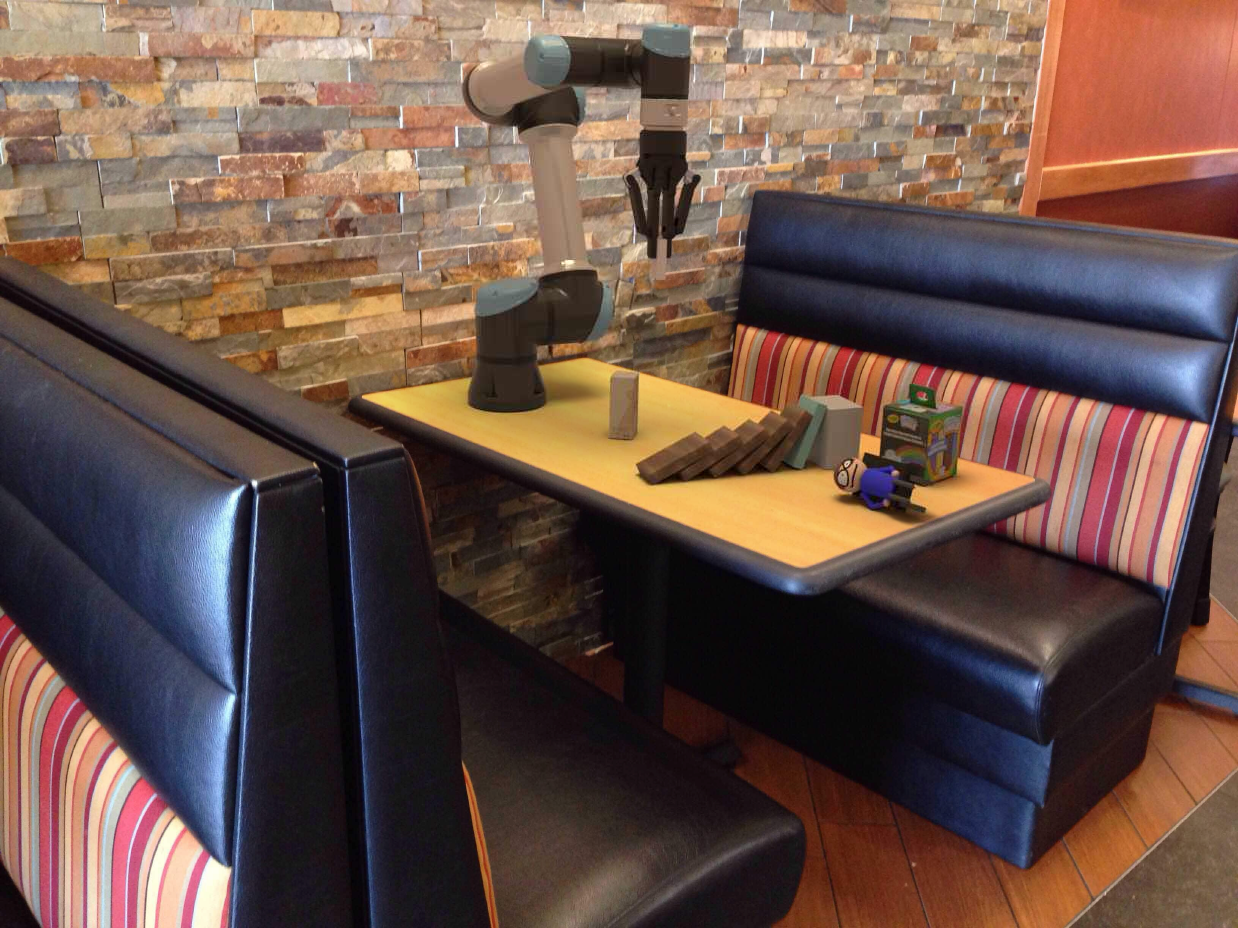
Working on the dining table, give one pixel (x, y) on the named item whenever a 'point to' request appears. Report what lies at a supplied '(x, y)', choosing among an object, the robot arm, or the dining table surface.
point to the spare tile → (806, 432)
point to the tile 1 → (674, 457)
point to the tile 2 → (722, 446)
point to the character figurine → (880, 481)
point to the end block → (837, 432)
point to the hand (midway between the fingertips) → (658, 278)
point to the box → (623, 405)
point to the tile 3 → (751, 439)
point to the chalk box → (922, 434)
